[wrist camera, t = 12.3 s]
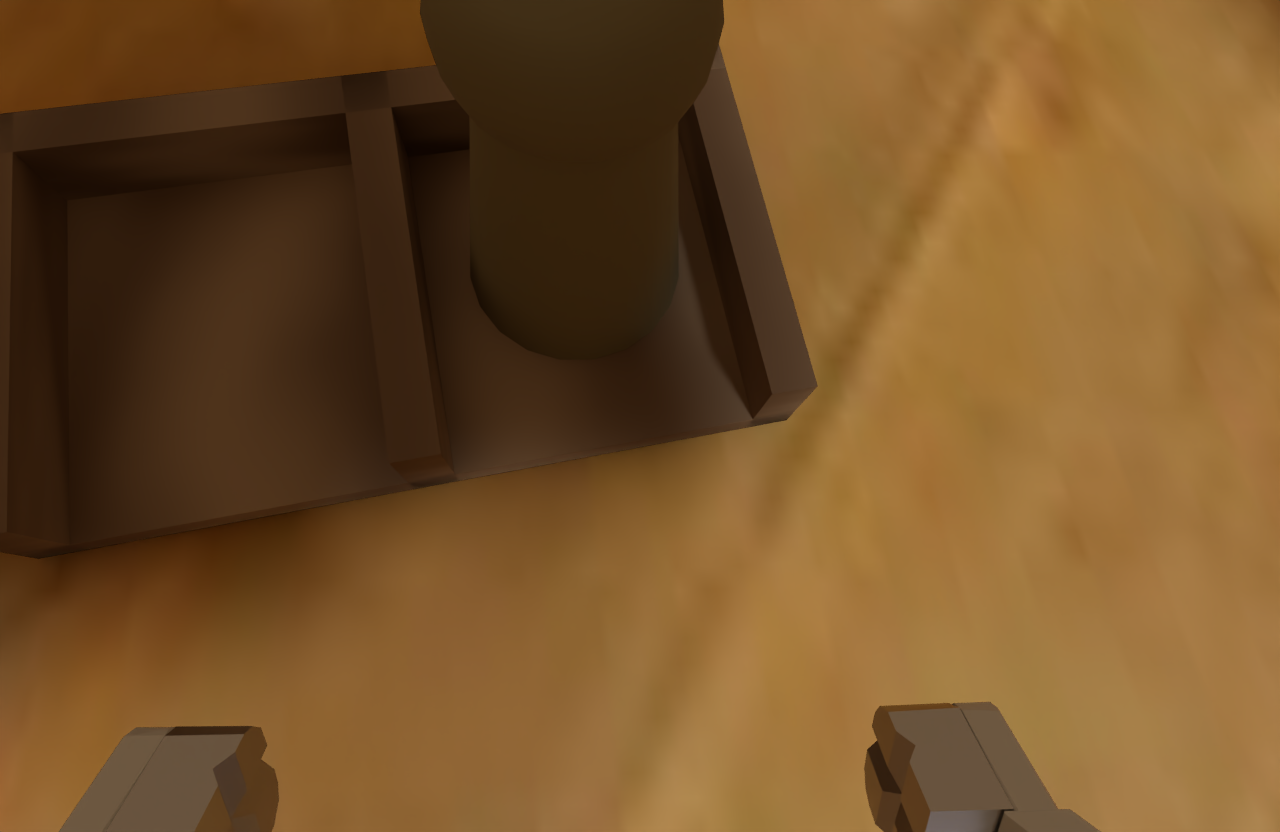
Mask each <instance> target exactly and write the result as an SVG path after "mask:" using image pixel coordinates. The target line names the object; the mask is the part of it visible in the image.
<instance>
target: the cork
mask: <svg viewBox="0 0 1280 832" xmlns="http://www.w3.org/2000/svg"><path fill="white" fill-rule="evenodd" d="M420 15H421V18H422V22H423V26H424V29H425V33H426V37H427V40H428V43H429V46H430V49H431V52H432V54H433V57H434V60H435V63H436V66H437V69H438V71H439V74H440V77H441V79H442V80H443V82H444V83H445V85H446V86H447V88H448V89H449V91H450V92H451V94H452V96H453V97H454V98H455V100H456V101H457V102H458V103H459V104H460V106H461V107H462V108H463V109H464V110H465V112H466V113H467V114H468V115H469V128H470V278H471V281H472V284H473V287H474V290H475V293H476V296H477V299H478V302H479V305H480V307H481V308H482V310H483V311H484V312H485V314H486V315H487V316H488V317H489V319H490V320H491V321H492V323H493V324H494V325H495V326H496V328H497V329H498V330H499V331H500V332H501V333H502V334H504V335H505V336H507V337H508V338H510V339H511V340H513V341H514V342H516V343H517V344H519V345H520V346H522V347H523V348H525V349H526V350H528V351H532V352H535V353H539V354H542V355H546V356H549V357H552V358H556V359H559V360H586V359H597V358H600V357H603V356H607V355H610V354H613V353H616V352H619V351H622V350H626V349H627V348H629V347H630V346H631V345H633V344H634V343H636V342H637V341H639V340H640V339H641V338H643V337H644V336H646V335H647V334H648V333H650V332H651V331H652V330H653V329H654V328H655V326H656V325H657V324H658V322H659V321H660V319H661V318H662V317H663V315H664V314H665V313H666V311H667V310H668V308H669V307H670V305H671V302H672V298H673V295H674V292H675V288H676V285H677V281H678V278H679V242H678V122H679V121H680V119H681V118H682V117H683V116H684V114H685V113H686V112H687V110H688V109H689V108H690V107H691V105H692V104H693V103H694V102H695V100H696V98H697V97H698V95H699V94H700V92H701V91H702V89H703V88H704V86H705V85H706V83H707V80H708V77H709V74H710V70H711V67H712V64H713V61H714V57H715V54H716V51H717V48H718V44H719V40H720V36H721V32H722V28H723V25H724V11H723V0H421V6H420Z"/></svg>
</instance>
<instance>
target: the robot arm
mask: <svg viewBox="0 0 1280 832" xmlns="http://www.w3.org/2000/svg"><path fill="white" fill-rule="evenodd" d="M872 728H873V730H874V733H875V735H876V738H877V741H876V742H875V743H874V744H873V745H872V746H871V747H870V748H868V749H867V754H866V760H865V767H864V770H865V787H866V793H867V797H868V802H869V806H870V809H871V812H872V815H873V818H874V821H875V824H876V825H877V826H878V827H879V828H880V829H882V830H883V831H884V832H1101V831H1099V830H1098V829H1096V828H1095V827H1094V826H1092V825H1091V824H1090V823H1088V822H1087V821H1085V820H1084V819H1083V818H1081V817H1080V816H1079V815H1077V814H1076V813H1074V812H1073V811H1072V810H1070V809H1058V808H1057V806H1056V804H1055V803H1054V801H1053V799H1052V798H1051V796H1050V794H1049V793H1048V791H1047V789H1046V788H1045V786H1044V784H1043V783H1042V781H1041V779H1040V778H1039V776H1038V774H1037V773H1036V771H1035V769H1034V768H1033V766H1032V764H1031V763H1030V761H1029V759H1028V758H1027V756H1026V754H1025V753H1024V751H1023V749H1022V748H1021V746H1020V744H1019V743H1018V741H1017V739H1016V738H1015V736H1014V734H1013V733H1012V731H1011V729H1010V728H1009V726H1008V724H1007V723H1006V721H1005V719H1004V718H1003V716H1002V714H1001V713H1000V711H999V709H998V708H997V707H996V706H995V705H993V704H992V703H991V702H976V703H953V704H950V703H937V704H914V705H891V706H879V708H878V709H877V710H876V712H875V715H874V719H873V724H872ZM266 747H267V743H266V740H265V737H264V735H263V732H262V729H261V727H254V726H202V727H139V728H135V729H134V730H132V731H131V732H130V733H128V734H127V735H126V736H124V737H123V738H122V740H121V741H120V743H119V744H118V746H117V747H116V748H115V750H114V751H113V753H112V754H111V756H110V757H109V759H108V760H107V762H106V763H105V765H104V766H103V768H102V769H101V771H100V772H99V773H98V775H97V776H96V778H95V779H94V781H93V782H92V784H91V785H90V787H89V788H88V790H87V791H86V793H85V794H84V795H83V797H82V798H81V800H80V801H79V803H78V804H77V806H76V807H75V809H74V810H73V812H72V813H71V815H70V816H69V817H68V819H67V820H66V822H65V823H64V825H63V826H62V828H61V829H60V831H59V832H272V829H273V827H274V823H275V818H276V813H277V807H278V802H279V793H278V781H277V777H276V773H275V770H274V769H273V768H272V767H271V766H269V765H268V764H267V763H265V762H264V761H263V760H261V758H262V756H263V754H264V752H265V749H266Z"/></svg>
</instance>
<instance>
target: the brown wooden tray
mask: <svg viewBox="0 0 1280 832" xmlns="http://www.w3.org/2000/svg"><path fill="white" fill-rule="evenodd" d="M678 242H679V278H678V281H677V285H676V288H675V292H674V295H673V298H672V302H671V305H670V307H669V308H668V310H667V311H666V313H665V314H664V315H663V317H662V318H661V319H660V321H659V322H658V324H657V325H656V326H655V328H654V329H653V330H652V331H651V332H650V333H648V334H647V335H646V336H644V337H643V338H641V339H640V340H639V341H637V342H636V343H634V344H633V345H631V346H630V347H629V348H627V349H626V350H622V351H619V352H616V353H613V354H610V355H607V356H603V357H600V358H597V359H586V360H559V359H556V358H552V357H549V356H546V355H542V354H539V353H535V352H532V351H528V350H526V349H525V348H523V347H522V346H520V345H519V344H517V343H516V342H514V341H513V340H511V339H510V338H508V337H507V336H505V335H504V334H502V333H501V332H500V331H499V330H498V329H497V328H496V326H495V325H494V324H493V323H492V321H491V320H490V319H489V317H488V316H487V315H486V314H485V312H484V311H483V310H482V308H481V307H480V305H479V302H478V299H477V296H476V293H475V290H474V287H473V284H472V281H471V278H470V128H469V115H468V114H467V113H466V112H465V110H464V109H463V108H462V107H461V106H460V104H459V103H458V102H457V101H456V100H455V98H454V97H453V96H452V94H451V92H450V91H449V89H448V88H447V86H446V85H445V83H444V82H443V80H442V79H441V77H440V74H439V71H438V69H437V66H436V65H434V66H425V67H416V68H407V69H398V70H389V71H380V72H371V73H362V74H353V75H344V76H335V77H326V78H317V79H308V80H299V81H291V82H282V83H273V84H264V85H255V86H246V87H237V88H228V89H219V90H210V91H201V92H192V93H183V94H174V95H165V96H156V97H147V98H138V99H129V100H120V101H111V102H102V103H93V104H84V105H75V106H66V107H57V108H48V109H39V110H30V111H21V112H12V113H3V114H0V552H3V553H9V554H15V555H20V556H26V557H32V558H38V559H39V558H44V557H50V556H55V555H61V554H66V553H71V552H77V551H82V550H88V549H93V548H98V547H104V546H109V545H115V544H120V543H125V542H131V541H136V540H142V539H147V538H152V537H158V536H163V535H169V534H174V533H179V532H185V531H190V530H196V529H201V528H206V527H212V526H217V525H223V524H228V523H233V522H239V521H244V520H250V519H255V518H260V517H266V516H271V515H277V514H282V513H287V512H293V511H298V510H304V509H309V508H314V507H320V506H325V505H331V504H336V503H341V502H347V501H352V500H358V499H363V498H368V497H374V496H379V495H385V494H390V493H395V492H401V491H406V490H412V489H417V488H422V487H428V486H433V485H439V484H444V483H449V482H455V481H460V480H466V479H471V478H476V477H482V476H487V475H493V474H498V473H503V472H509V471H514V470H520V469H525V468H530V467H536V466H541V465H547V464H552V463H557V462H563V461H568V460H574V459H579V458H584V457H590V456H595V455H601V454H606V453H611V452H617V451H622V450H628V449H633V448H638V447H644V446H649V445H655V444H660V443H665V442H671V441H676V440H682V439H687V438H692V437H698V436H703V435H709V434H714V433H719V432H725V431H730V430H736V429H741V428H746V427H752V426H757V425H763V424H768V423H773V422H779V421H784V420H787V419H788V418H789V417H790V416H791V414H792V413H793V412H794V411H795V410H796V409H797V408H798V407H799V406H800V405H801V404H802V403H803V401H804V400H805V399H806V398H807V397H808V396H809V395H810V394H811V393H812V392H813V391H814V389H815V388H816V387H817V382H816V379H815V376H814V372H813V369H812V365H811V362H810V358H809V355H808V351H807V348H806V344H805V341H804V337H803V334H802V331H801V327H800V324H799V320H798V317H797V313H796V310H795V306H794V303H793V299H792V296H791V292H790V289H789V285H788V282H787V279H786V275H785V272H784V268H783V265H782V261H781V258H780V254H779V251H778V247H777V244H776V240H775V237H774V234H773V230H772V227H771V223H770V220H769V216H768V213H767V209H766V206H765V202H764V199H763V195H762V192H761V189H760V185H759V182H758V178H757V175H756V171H755V168H754V164H753V161H752V157H751V154H750V150H749V147H748V144H747V140H746V137H745V133H744V130H743V126H742V123H741V119H740V116H739V112H738V109H737V105H736V102H735V99H734V95H733V92H732V88H731V85H730V81H729V78H728V74H727V71H726V67H725V64H724V60H723V57H722V54H721V50H720V47H719V44H718V48H717V51H716V54H715V57H714V61H713V64H712V67H711V70H710V74H709V77H708V80H707V83H706V85H705V86H704V88H703V89H702V91H701V92H700V94H699V95H698V97H697V98H696V100H695V102H694V103H693V104H692V105H691V107H690V108H689V109H688V110H687V112H686V113H685V114H684V116H683V117H682V118H681V119H680V121H679V122H678Z"/></svg>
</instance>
